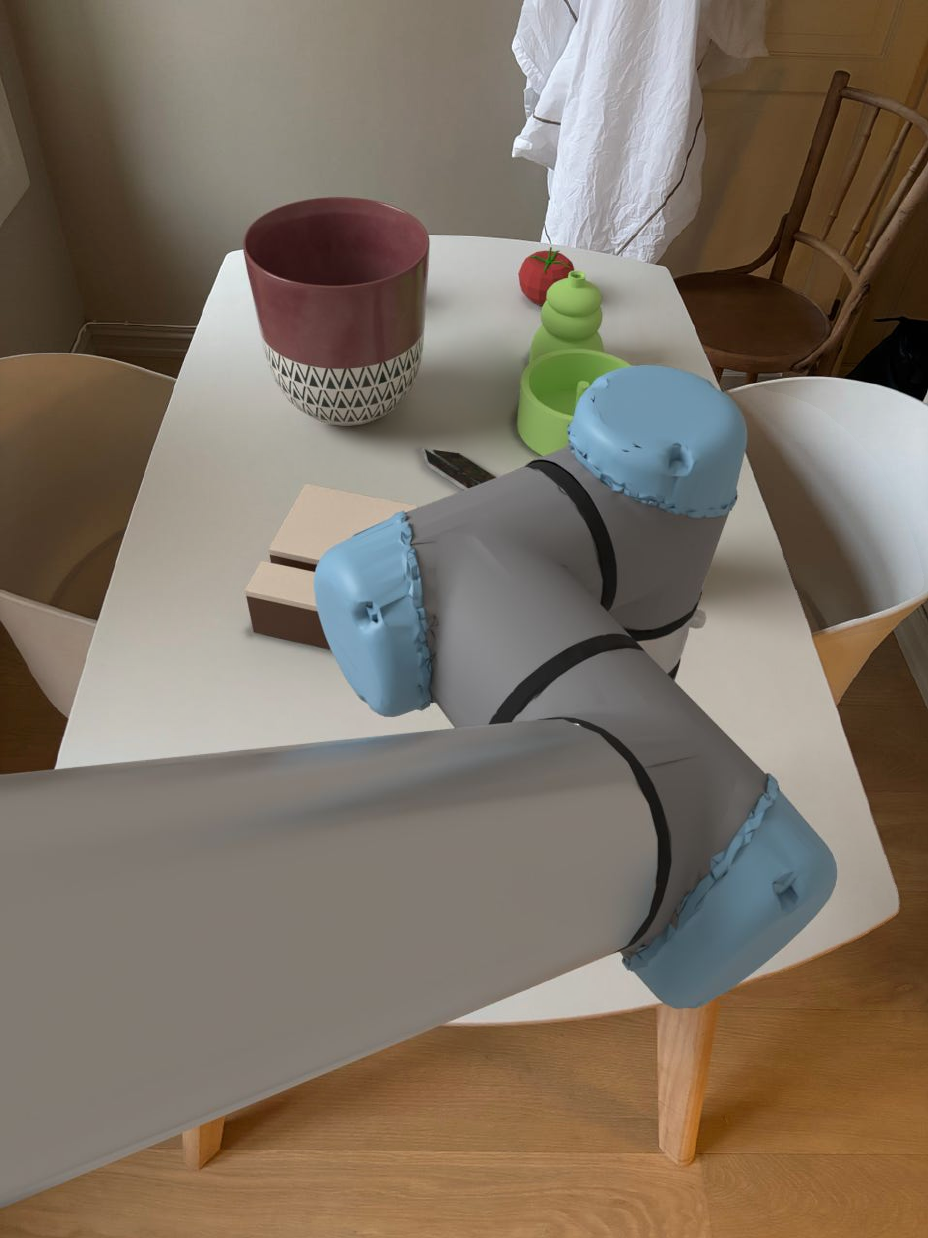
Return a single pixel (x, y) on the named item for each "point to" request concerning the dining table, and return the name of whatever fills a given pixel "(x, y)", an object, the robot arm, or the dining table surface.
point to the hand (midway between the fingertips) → (569, 830)
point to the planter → (340, 304)
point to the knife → (454, 474)
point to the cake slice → (285, 604)
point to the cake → (326, 524)
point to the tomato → (542, 273)
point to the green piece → (562, 363)
